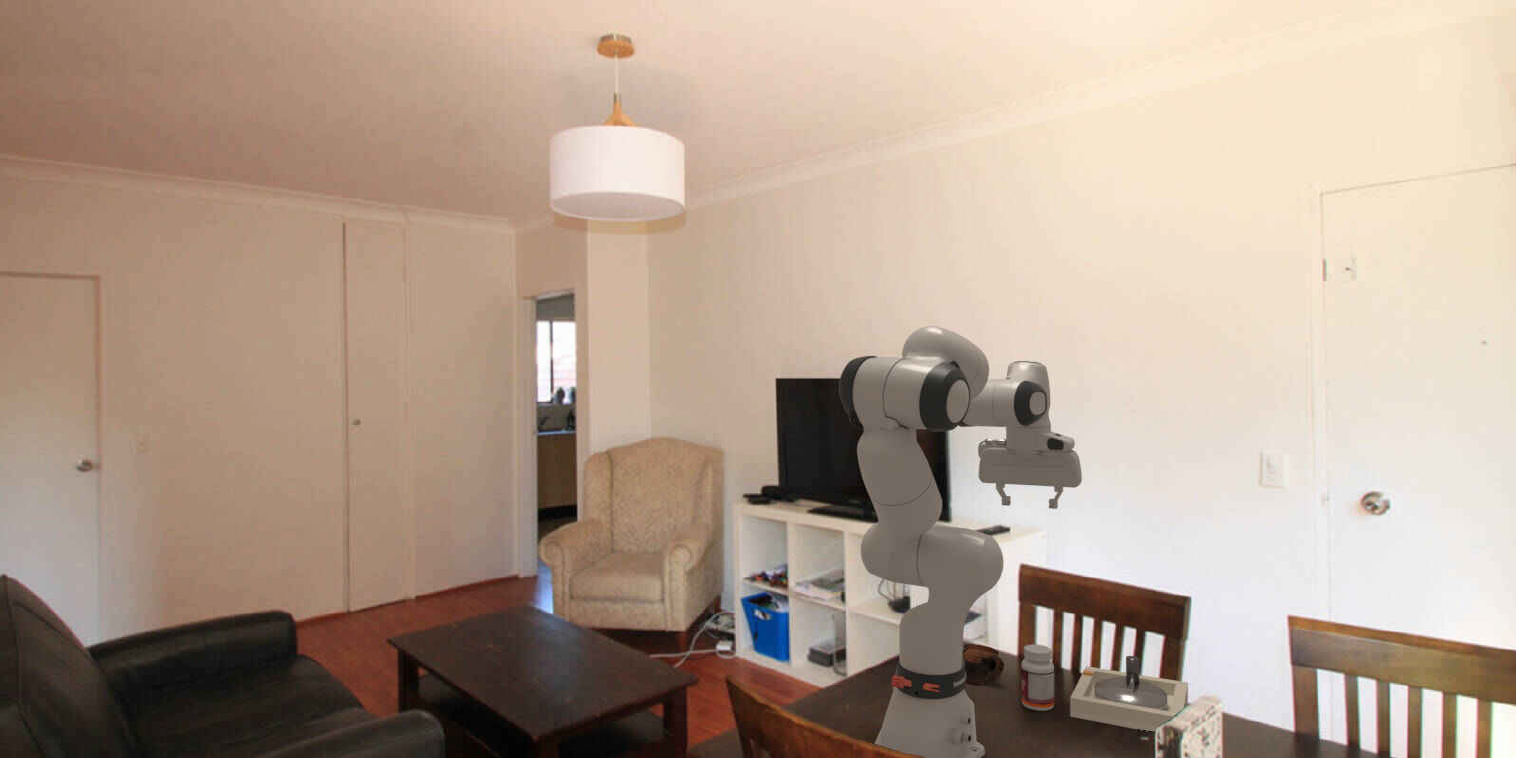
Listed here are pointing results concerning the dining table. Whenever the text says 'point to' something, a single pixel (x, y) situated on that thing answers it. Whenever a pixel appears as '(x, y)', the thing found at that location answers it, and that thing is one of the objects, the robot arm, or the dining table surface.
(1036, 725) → the dining table surface
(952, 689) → the robot arm
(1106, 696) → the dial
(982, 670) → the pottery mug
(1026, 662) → the pill bottle
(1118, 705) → the tray
